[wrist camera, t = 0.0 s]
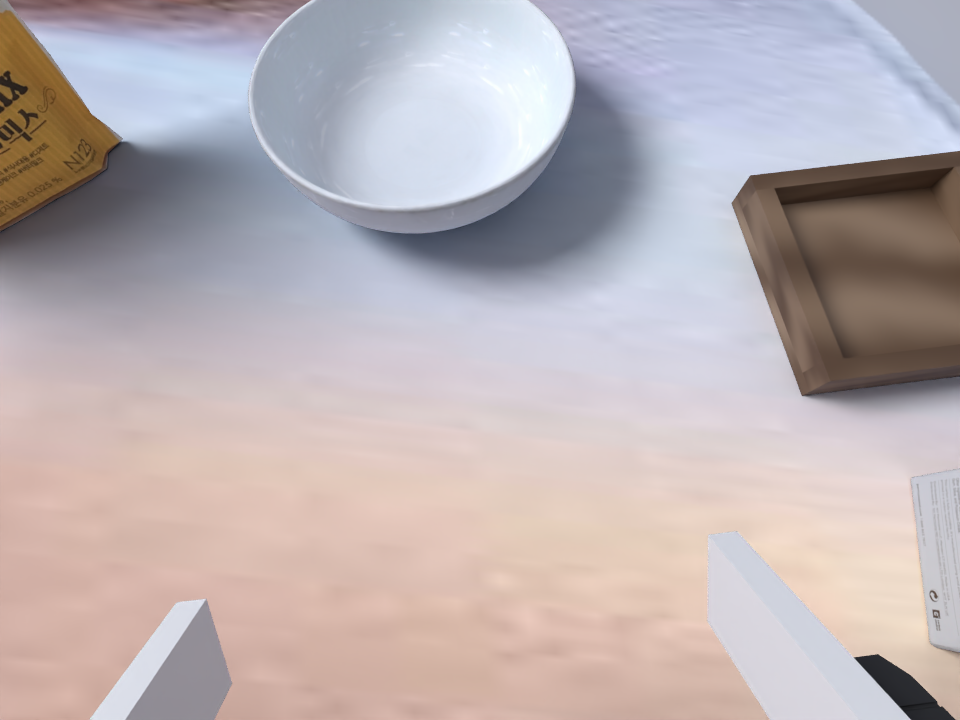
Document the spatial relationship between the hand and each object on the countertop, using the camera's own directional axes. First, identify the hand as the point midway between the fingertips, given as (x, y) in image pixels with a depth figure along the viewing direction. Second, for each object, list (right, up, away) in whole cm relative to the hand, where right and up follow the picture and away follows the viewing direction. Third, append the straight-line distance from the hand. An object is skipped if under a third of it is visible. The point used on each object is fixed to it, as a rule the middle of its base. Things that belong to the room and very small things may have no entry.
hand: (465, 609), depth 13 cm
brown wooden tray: (+26, +12, +20) cm, 35 cm away
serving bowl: (-4, +22, +25) cm, 34 cm away
